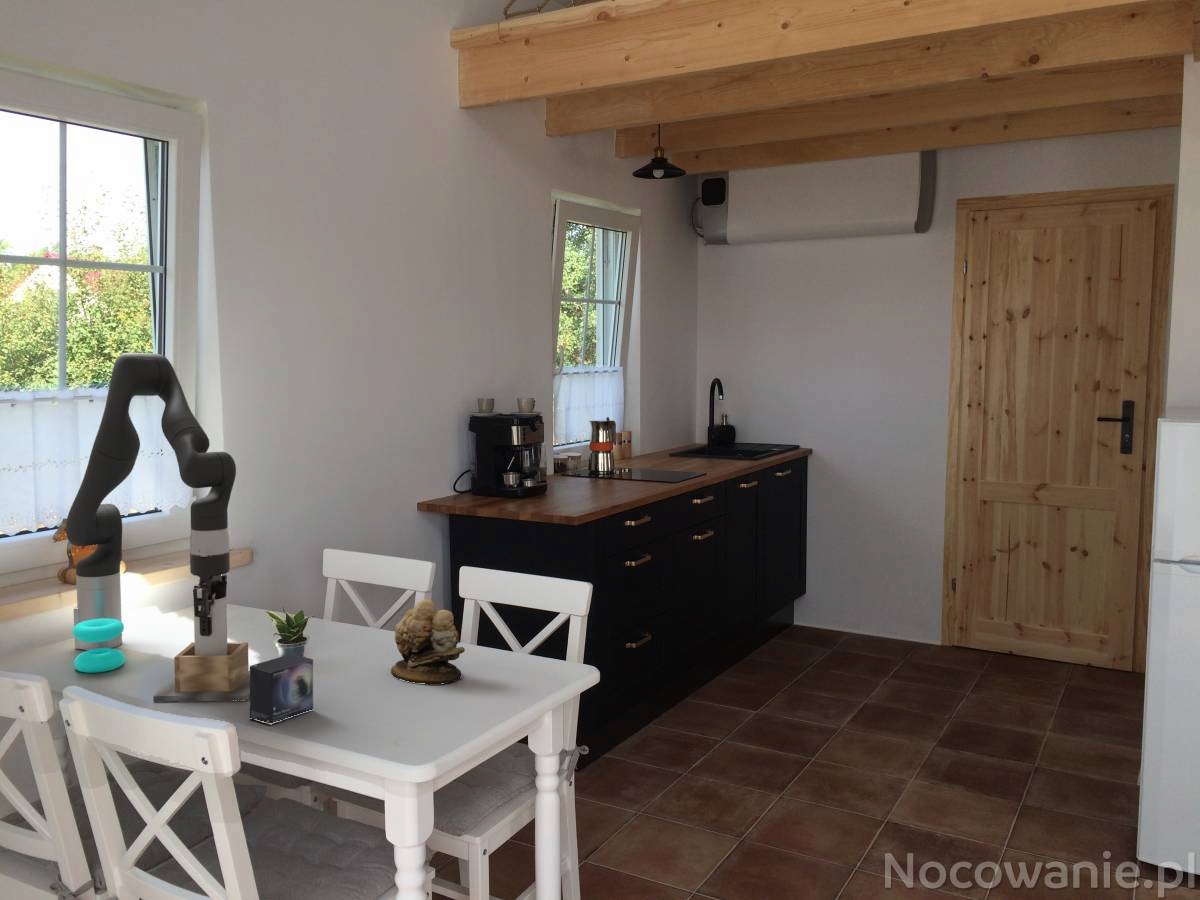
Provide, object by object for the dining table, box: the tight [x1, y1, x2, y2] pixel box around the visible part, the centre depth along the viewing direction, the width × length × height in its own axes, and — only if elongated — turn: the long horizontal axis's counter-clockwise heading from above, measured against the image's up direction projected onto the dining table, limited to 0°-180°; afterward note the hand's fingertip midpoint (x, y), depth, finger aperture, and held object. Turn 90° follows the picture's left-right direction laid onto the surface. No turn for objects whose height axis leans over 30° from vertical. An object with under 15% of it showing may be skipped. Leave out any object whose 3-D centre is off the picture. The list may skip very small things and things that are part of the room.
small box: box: [248, 653, 314, 723], centre depth 193 cm, size 11×6×10 cm, turn 148°
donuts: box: [72, 618, 126, 674], centre depth 222 cm, size 10×10×10 cm
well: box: [152, 641, 250, 702], centre depth 208 cm, size 18×16×8 cm
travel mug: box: [193, 580, 228, 656], centre depth 208 cm, size 6×7×20 cm
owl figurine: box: [390, 598, 465, 684], centre depth 218 cm, size 18×12×17 cm, turn 62°
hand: (211, 630), depth 208 cm, fingers closed on travel mug, 6 cm apart
